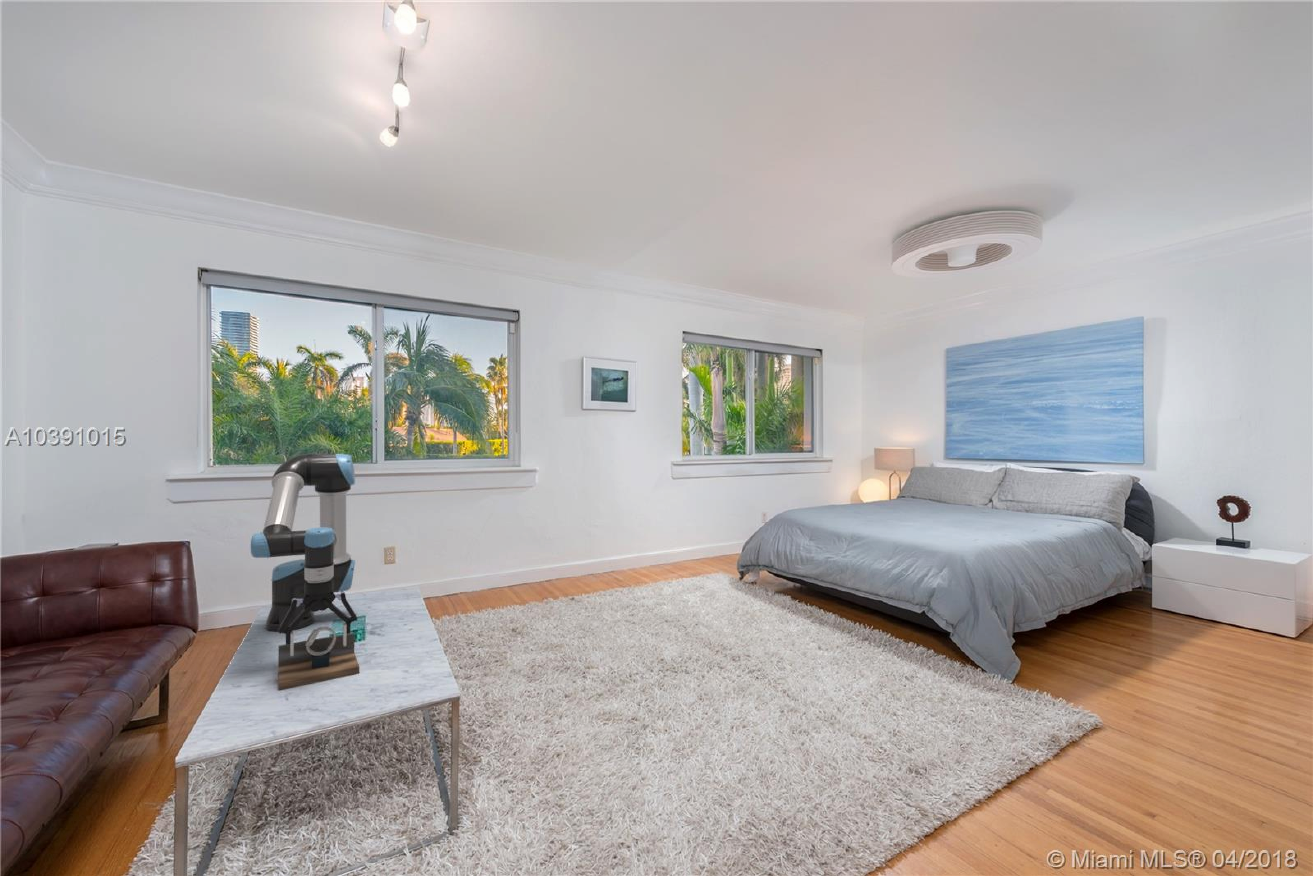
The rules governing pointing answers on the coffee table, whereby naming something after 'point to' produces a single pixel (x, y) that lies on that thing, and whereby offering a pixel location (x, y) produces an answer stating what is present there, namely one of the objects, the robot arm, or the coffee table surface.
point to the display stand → (300, 665)
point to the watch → (320, 657)
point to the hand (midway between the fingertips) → (318, 649)
